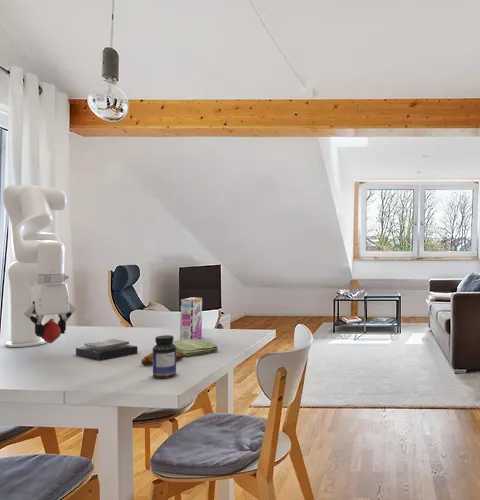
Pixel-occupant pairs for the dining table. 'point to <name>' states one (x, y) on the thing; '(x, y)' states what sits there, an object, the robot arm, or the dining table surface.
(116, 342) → the scale pan
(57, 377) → the dining table surface
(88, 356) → the scale
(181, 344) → the washcloth
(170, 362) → the pill bottle
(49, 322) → the onion
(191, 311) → the candy bar box
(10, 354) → the dining table surface
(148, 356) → the croissant
